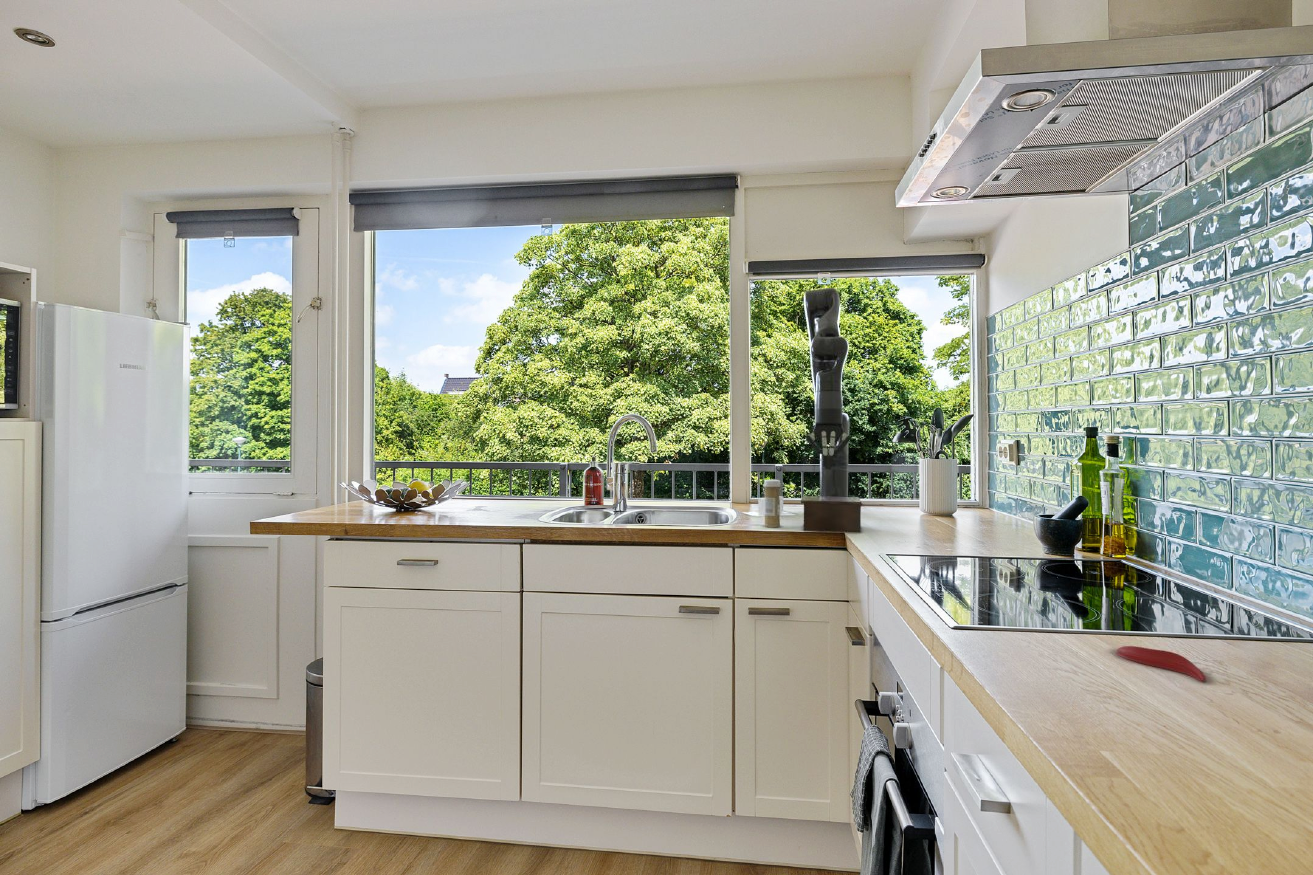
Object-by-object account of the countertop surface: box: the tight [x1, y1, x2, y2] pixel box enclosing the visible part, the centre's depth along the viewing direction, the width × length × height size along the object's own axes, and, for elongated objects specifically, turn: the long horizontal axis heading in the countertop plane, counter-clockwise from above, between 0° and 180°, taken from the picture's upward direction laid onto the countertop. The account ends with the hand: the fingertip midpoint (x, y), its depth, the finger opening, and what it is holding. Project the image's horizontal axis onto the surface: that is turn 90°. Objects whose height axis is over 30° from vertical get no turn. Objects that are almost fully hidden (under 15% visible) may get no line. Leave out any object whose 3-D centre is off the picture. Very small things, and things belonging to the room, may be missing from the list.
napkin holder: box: [741, 495, 796, 517], centre depth 243 cm, size 15×11×6 cm
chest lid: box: [800, 495, 862, 506], centre depth 209 cm, size 16×13×1 cm
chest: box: [803, 503, 862, 534], centre depth 209 cm, size 15×13×8 cm
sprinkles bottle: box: [763, 479, 781, 528], centre depth 213 cm, size 5×5×13 cm
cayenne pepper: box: [1116, 645, 1206, 683], centre depth 91 cm, size 12×5×2 cm, turn 7°
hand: (828, 468), depth 209 cm, fingers closed
